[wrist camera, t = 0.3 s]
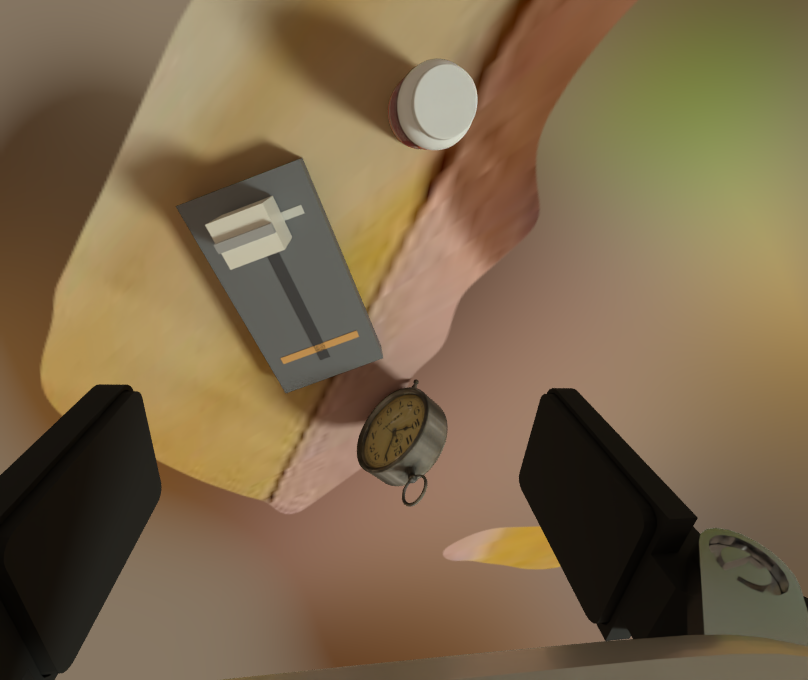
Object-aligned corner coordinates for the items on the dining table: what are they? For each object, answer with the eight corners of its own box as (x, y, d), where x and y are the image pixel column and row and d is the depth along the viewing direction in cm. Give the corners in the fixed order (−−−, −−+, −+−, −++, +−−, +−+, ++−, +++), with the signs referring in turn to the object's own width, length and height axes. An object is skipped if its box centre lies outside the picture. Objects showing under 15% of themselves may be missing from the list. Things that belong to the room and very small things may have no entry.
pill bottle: (406, 161, 40) (425, 167, 30) (375, 97, 37) (385, 81, 27) (461, 128, 39) (500, 123, 29) (434, 60, 36) (466, 30, 26)
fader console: (187, 201, 39) (175, 206, 36) (302, 157, 38) (299, 159, 36) (289, 379, 49) (285, 393, 46) (381, 346, 48) (383, 358, 46)
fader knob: (222, 214, 37) (202, 226, 32) (272, 195, 36) (261, 204, 31) (244, 255, 38) (228, 272, 33) (292, 237, 38) (283, 251, 33)
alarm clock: (415, 366, 50) (442, 456, 36) (441, 391, 53) (477, 485, 38) (353, 418, 53) (355, 522, 38) (381, 439, 55) (393, 546, 40)
